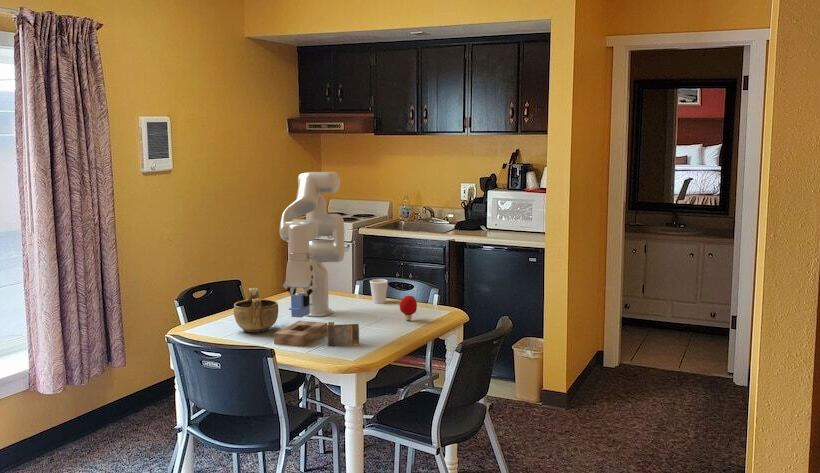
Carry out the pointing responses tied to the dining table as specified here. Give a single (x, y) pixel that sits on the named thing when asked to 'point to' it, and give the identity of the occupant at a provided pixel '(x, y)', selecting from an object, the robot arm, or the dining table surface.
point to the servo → (299, 305)
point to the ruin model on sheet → (343, 334)
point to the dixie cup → (378, 290)
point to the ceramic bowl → (255, 312)
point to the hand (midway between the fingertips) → (300, 305)
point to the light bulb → (408, 306)
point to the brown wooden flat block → (300, 333)
